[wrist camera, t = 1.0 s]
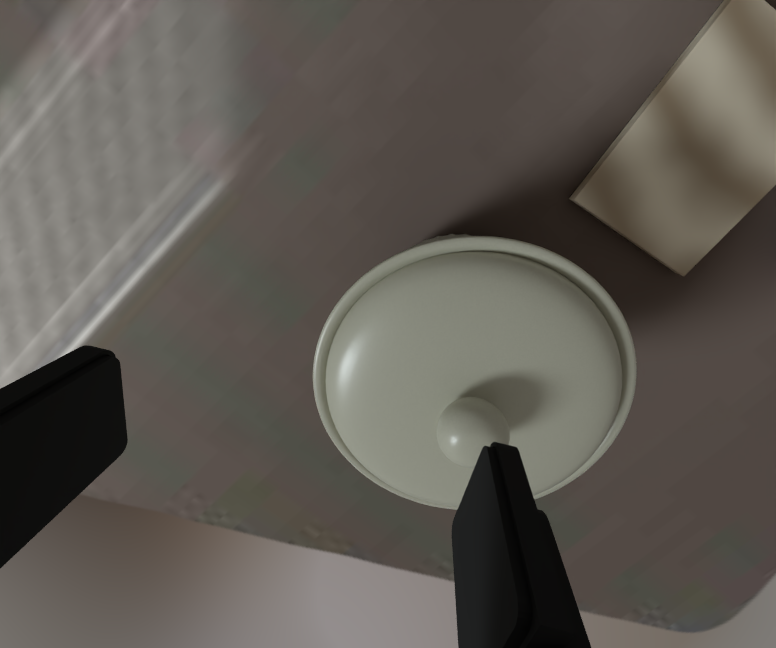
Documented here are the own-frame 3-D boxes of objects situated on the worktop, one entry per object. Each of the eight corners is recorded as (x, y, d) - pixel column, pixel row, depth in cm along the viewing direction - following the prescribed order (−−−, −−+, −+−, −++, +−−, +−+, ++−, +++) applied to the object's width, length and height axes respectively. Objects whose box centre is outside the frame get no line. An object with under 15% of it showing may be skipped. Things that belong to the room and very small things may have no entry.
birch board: (731, -9, 26) (744, -17, 25) (852, 93, 27) (870, 90, 26) (568, 198, 32) (573, 199, 31) (675, 272, 33) (683, 276, 32)
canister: (587, 252, 34) (802, 371, 14) (490, 404, 41) (545, 621, 21) (401, 170, 33) (361, 179, 13) (335, 341, 40) (246, 509, 20)
